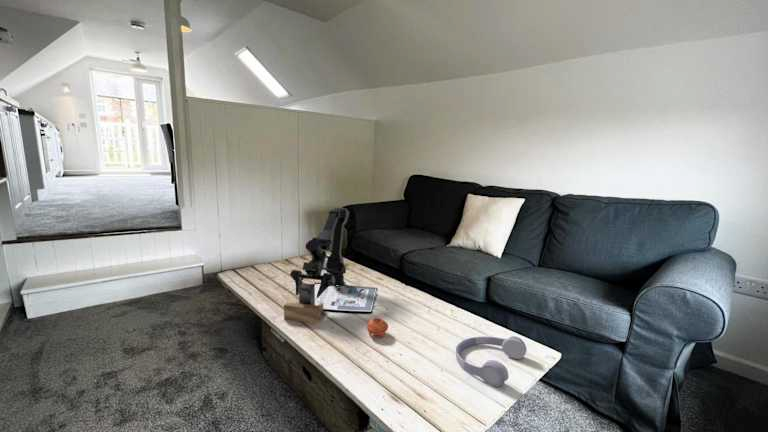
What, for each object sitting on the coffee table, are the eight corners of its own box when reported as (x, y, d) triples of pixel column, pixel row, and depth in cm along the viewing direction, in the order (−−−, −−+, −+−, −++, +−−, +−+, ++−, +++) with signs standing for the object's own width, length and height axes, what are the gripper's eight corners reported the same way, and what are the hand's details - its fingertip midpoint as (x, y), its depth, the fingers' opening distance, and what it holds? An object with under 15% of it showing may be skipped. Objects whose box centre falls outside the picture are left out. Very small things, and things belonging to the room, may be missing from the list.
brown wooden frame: (296, 307, 148) (296, 294, 147) (327, 311, 146) (327, 297, 144) (284, 319, 138) (283, 305, 137) (316, 323, 135) (316, 309, 134)
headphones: (528, 358, 115) (473, 340, 128) (529, 338, 114) (473, 322, 127) (504, 392, 98) (443, 368, 111) (504, 369, 97) (443, 347, 110)
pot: (393, 334, 128) (391, 319, 125) (378, 345, 123) (375, 330, 121) (379, 325, 134) (377, 310, 131) (364, 335, 129) (361, 321, 127)
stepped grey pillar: (303, 311, 145) (303, 283, 143) (314, 312, 144) (314, 284, 142) (298, 316, 140) (297, 287, 138) (309, 318, 139) (309, 289, 137)
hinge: (341, 271, 195) (336, 256, 191) (334, 275, 193) (328, 260, 189) (327, 263, 208) (322, 249, 204) (320, 267, 206) (315, 253, 202)
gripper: (291, 251, 145) (278, 285, 136) (332, 255, 141) (322, 291, 133) (300, 263, 154) (288, 296, 145) (339, 267, 150) (330, 301, 142)
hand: (307, 296), depth 141 cm, fingers open, 9 cm apart
